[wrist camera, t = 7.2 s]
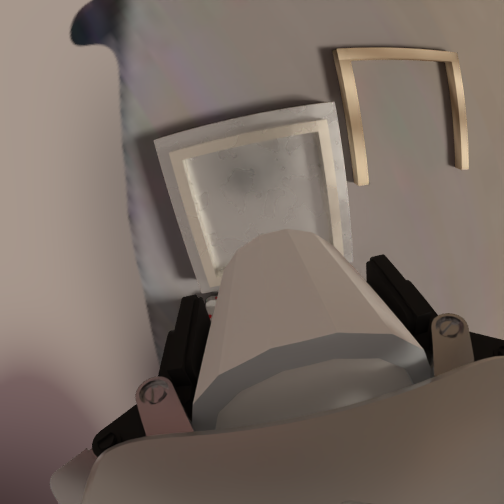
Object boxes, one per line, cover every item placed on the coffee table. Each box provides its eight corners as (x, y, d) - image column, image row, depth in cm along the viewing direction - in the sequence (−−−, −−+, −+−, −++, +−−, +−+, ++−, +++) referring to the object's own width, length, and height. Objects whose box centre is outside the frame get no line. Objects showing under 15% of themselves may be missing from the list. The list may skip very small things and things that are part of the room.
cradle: (332, 50, 21) (336, 48, 20) (450, 53, 20) (457, 52, 19) (353, 182, 26) (358, 185, 25) (461, 166, 26) (468, 169, 25)
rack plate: (161, 137, 24) (149, 142, 20) (325, 102, 23) (339, 101, 20) (204, 279, 30) (200, 301, 27) (344, 249, 29) (357, 268, 26)
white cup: (236, 189, 11) (239, 299, 5) (385, 245, 13) (475, 352, 7) (189, 326, 14) (170, 459, 8) (317, 355, 16) (349, 472, 9)
